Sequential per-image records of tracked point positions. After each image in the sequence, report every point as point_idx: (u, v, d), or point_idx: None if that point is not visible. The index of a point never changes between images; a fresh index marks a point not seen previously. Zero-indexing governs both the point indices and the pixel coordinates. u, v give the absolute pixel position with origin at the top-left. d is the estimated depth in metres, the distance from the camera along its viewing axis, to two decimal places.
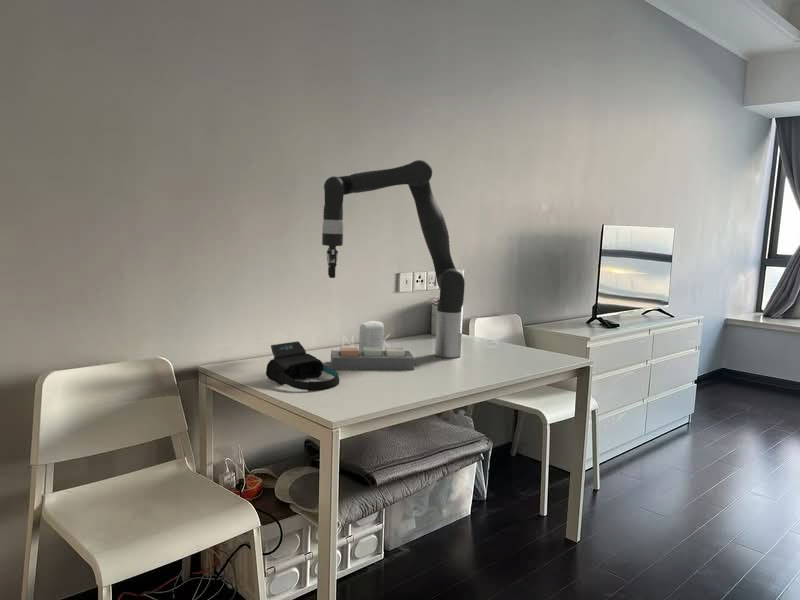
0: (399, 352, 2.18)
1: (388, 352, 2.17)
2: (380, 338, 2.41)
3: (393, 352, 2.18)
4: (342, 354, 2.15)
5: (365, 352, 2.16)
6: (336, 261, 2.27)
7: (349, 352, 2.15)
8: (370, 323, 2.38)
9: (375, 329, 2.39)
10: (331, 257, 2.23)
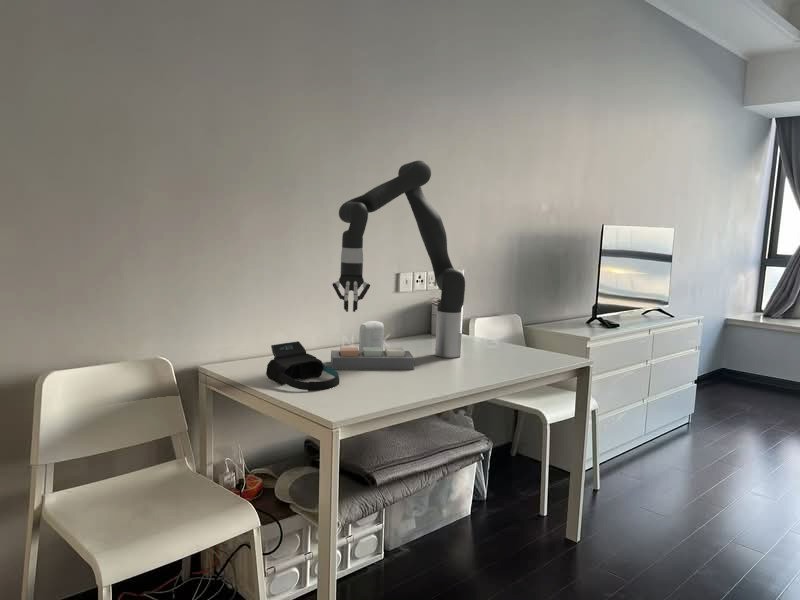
0: (399, 352, 2.18)
1: (388, 352, 2.17)
2: (380, 338, 2.41)
3: (393, 352, 2.18)
4: (342, 354, 2.15)
5: (365, 352, 2.16)
6: None
7: (349, 352, 2.15)
8: (370, 323, 2.38)
9: (375, 329, 2.39)
10: None
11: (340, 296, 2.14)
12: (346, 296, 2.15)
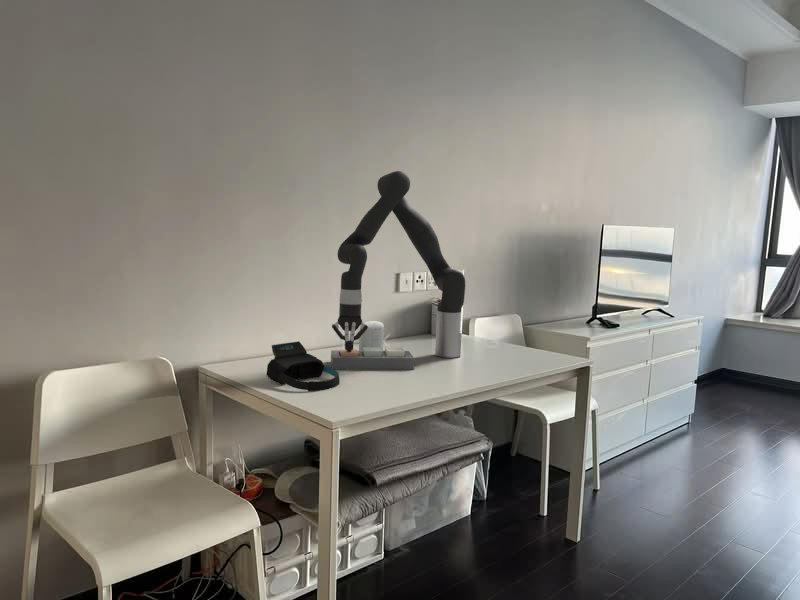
0: (399, 352, 2.18)
1: (388, 352, 2.17)
2: (380, 338, 2.41)
3: (393, 352, 2.18)
4: None
5: (365, 352, 2.16)
6: None
7: (349, 354, 2.16)
8: (370, 323, 2.38)
9: (375, 329, 2.39)
10: None
11: (341, 336, 2.16)
12: (347, 336, 2.16)
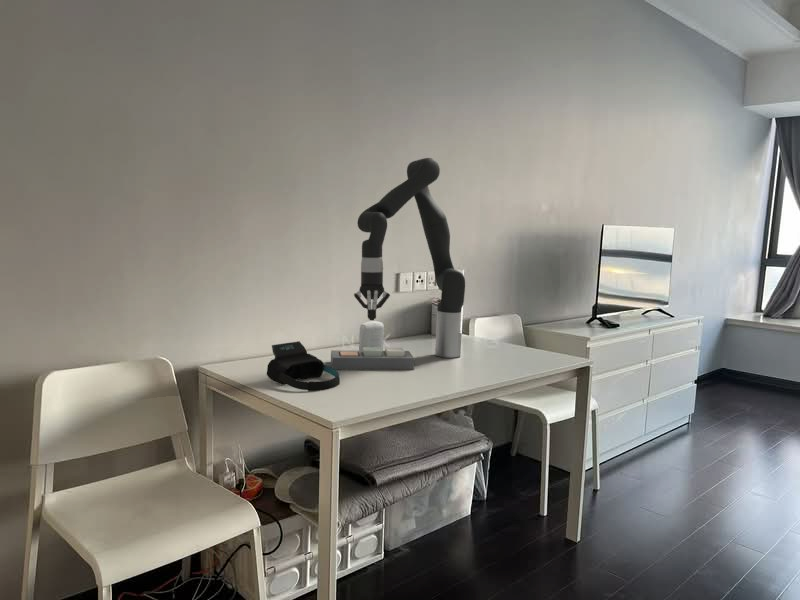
0: (399, 352, 2.18)
1: (388, 352, 2.17)
2: (380, 338, 2.41)
3: (393, 352, 2.18)
4: None
5: (365, 352, 2.16)
6: None
7: None
8: (370, 323, 2.38)
9: (375, 329, 2.39)
10: None
11: (364, 305, 2.16)
12: (369, 305, 2.16)
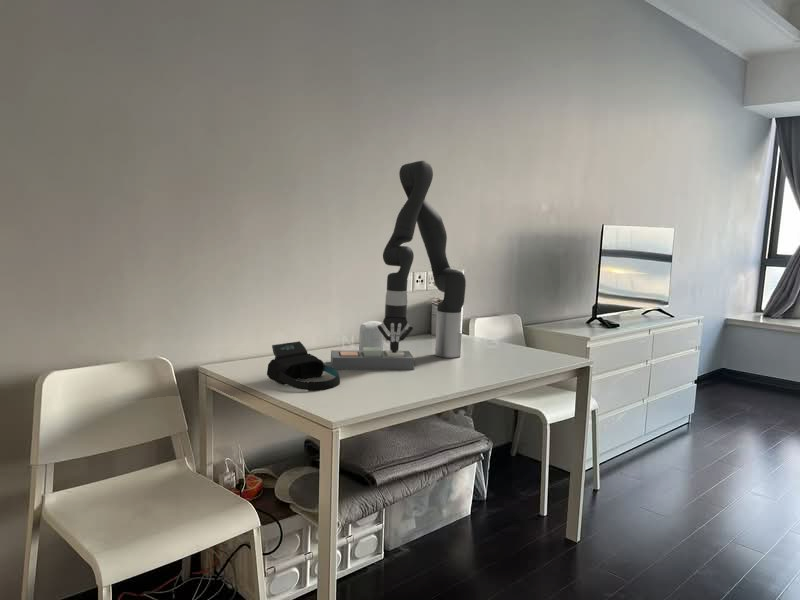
0: (399, 355, 2.18)
1: (388, 355, 2.18)
2: (380, 338, 2.41)
3: (393, 355, 2.18)
4: None
5: (365, 352, 2.16)
6: None
7: None
8: (370, 323, 2.38)
9: (375, 329, 2.39)
10: None
11: (387, 337, 2.19)
12: (392, 337, 2.19)
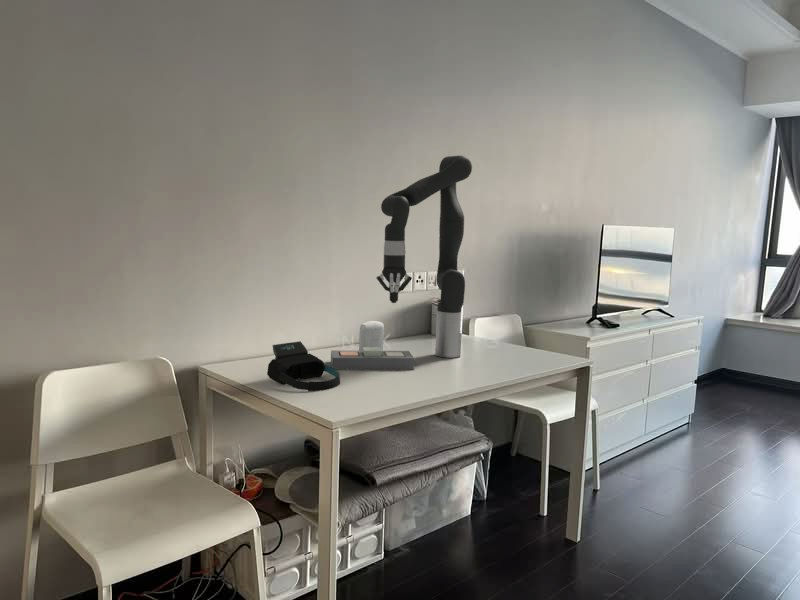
0: None
1: (388, 356, 2.18)
2: (380, 338, 2.41)
3: (393, 356, 2.18)
4: None
5: (365, 352, 2.16)
6: None
7: None
8: (370, 323, 2.38)
9: (375, 329, 2.39)
10: None
11: (386, 288, 2.20)
12: (392, 288, 2.20)
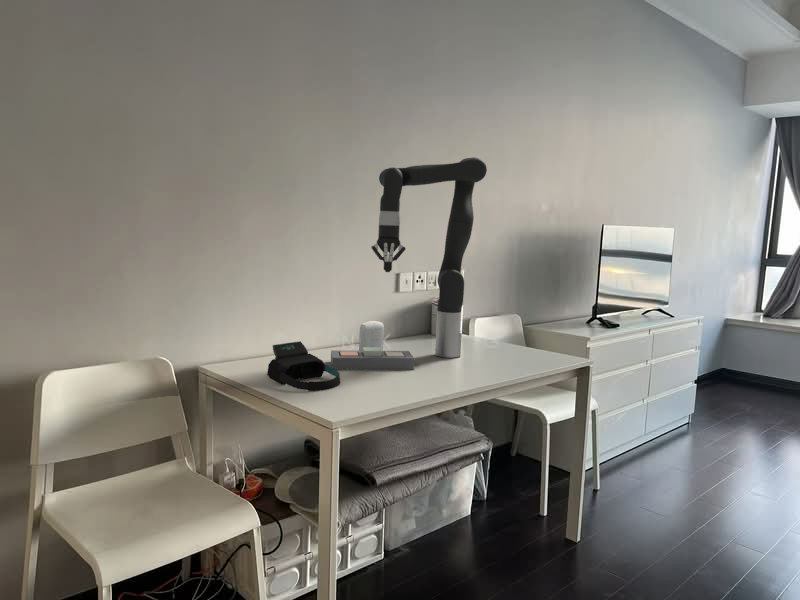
0: None
1: (388, 356, 2.18)
2: (380, 338, 2.41)
3: (393, 356, 2.18)
4: None
5: (365, 352, 2.16)
6: None
7: None
8: (370, 323, 2.38)
9: (375, 329, 2.39)
10: (400, 254, 2.28)
11: (380, 257, 2.27)
12: (386, 257, 2.27)
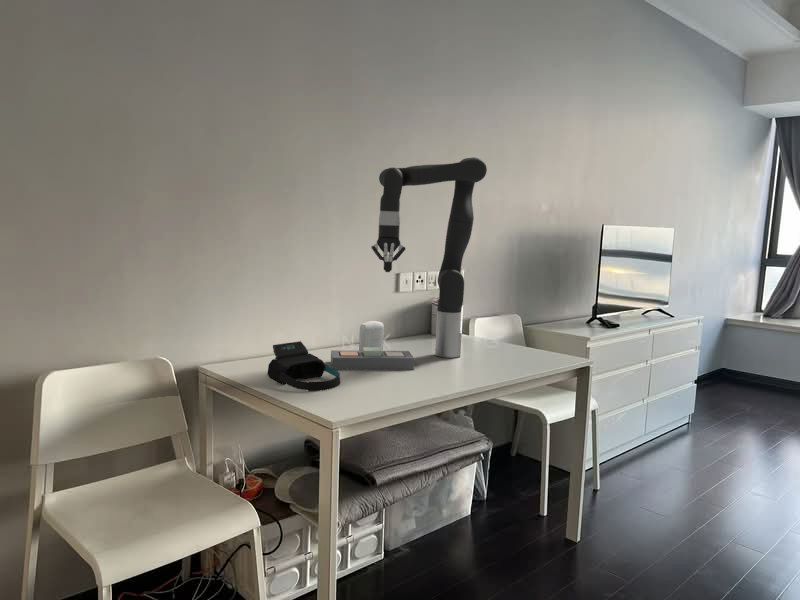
0: None
1: (388, 356, 2.18)
2: (380, 338, 2.41)
3: (393, 356, 2.18)
4: None
5: (365, 352, 2.16)
6: None
7: None
8: (370, 323, 2.38)
9: (375, 329, 2.39)
10: (400, 254, 2.28)
11: (380, 257, 2.27)
12: (386, 257, 2.27)
